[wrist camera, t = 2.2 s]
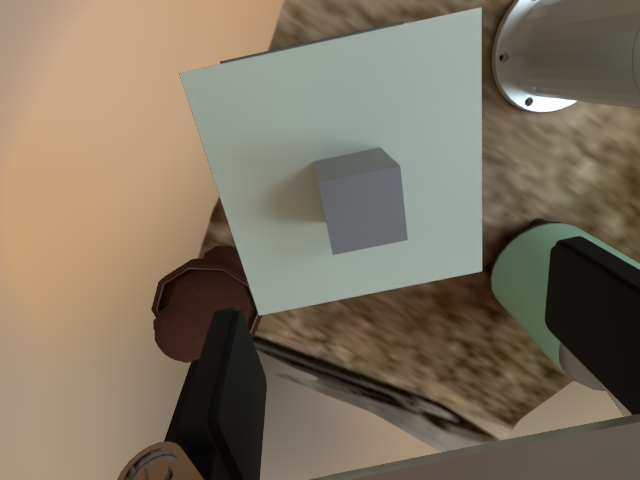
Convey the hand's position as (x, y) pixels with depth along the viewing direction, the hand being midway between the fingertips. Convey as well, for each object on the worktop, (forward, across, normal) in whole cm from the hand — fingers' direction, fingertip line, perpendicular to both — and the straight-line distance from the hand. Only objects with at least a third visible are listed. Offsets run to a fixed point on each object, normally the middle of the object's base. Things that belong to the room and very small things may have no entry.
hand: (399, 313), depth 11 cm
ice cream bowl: (+32, +15, +13) cm, 38 cm away
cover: (+31, -1, 0) cm, 31 cm away
